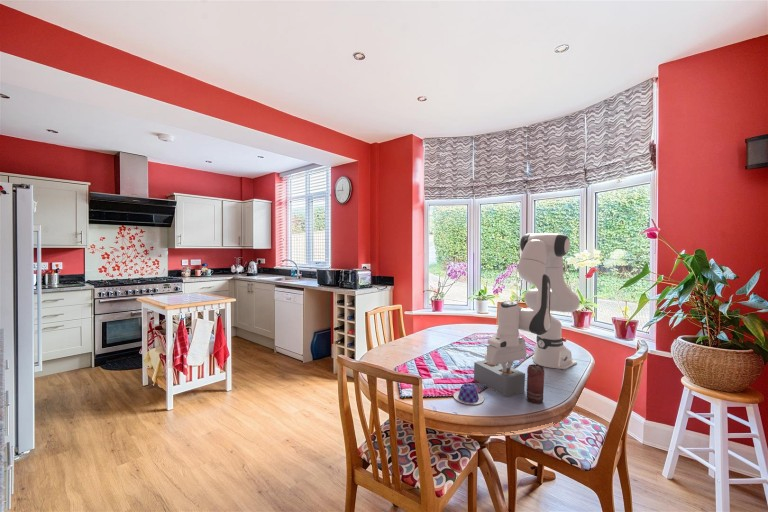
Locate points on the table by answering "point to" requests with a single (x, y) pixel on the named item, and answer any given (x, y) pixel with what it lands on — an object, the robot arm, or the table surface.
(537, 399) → the can
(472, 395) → the pudding
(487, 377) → the block
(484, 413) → the table surface
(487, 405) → the table surface
